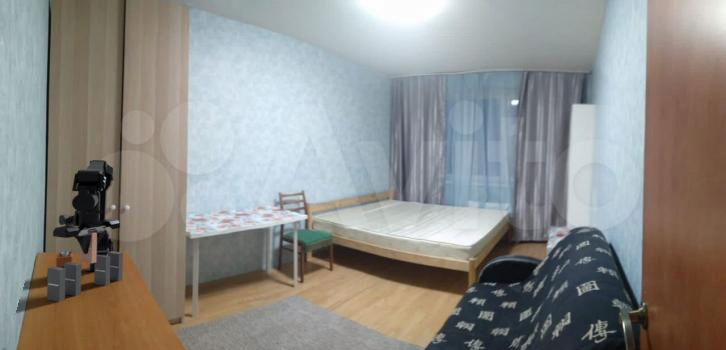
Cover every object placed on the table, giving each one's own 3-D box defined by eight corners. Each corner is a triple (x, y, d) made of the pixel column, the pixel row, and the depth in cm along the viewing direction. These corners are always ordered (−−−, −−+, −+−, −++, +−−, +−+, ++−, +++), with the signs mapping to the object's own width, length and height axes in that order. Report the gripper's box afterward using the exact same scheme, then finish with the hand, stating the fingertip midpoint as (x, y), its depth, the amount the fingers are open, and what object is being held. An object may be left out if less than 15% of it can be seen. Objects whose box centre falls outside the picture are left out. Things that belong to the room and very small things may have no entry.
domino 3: (84, 260, 121) (85, 231, 120) (96, 262, 120) (97, 232, 119) (80, 261, 119) (80, 232, 119) (91, 263, 118) (92, 233, 118)
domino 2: (69, 292, 116) (69, 262, 116) (80, 294, 115) (81, 263, 115) (63, 293, 115) (64, 263, 114) (75, 296, 113) (76, 265, 113)
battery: (55, 283, 123) (56, 255, 123) (57, 277, 128) (58, 250, 128) (72, 281, 126) (72, 253, 125) (73, 275, 131) (73, 249, 131)
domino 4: (98, 282, 126) (99, 254, 126) (109, 284, 125) (110, 256, 124) (94, 283, 124) (94, 255, 124) (105, 285, 123) (106, 257, 123)
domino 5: (111, 277, 131) (112, 251, 130) (122, 279, 130) (122, 252, 129) (107, 279, 129) (107, 252, 129) (118, 281, 128) (118, 253, 128)
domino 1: (52, 297, 111) (53, 266, 111) (64, 299, 110) (65, 268, 110) (46, 299, 110) (47, 267, 109) (59, 301, 109) (59, 269, 108)
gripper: (97, 202, 130) (96, 244, 130) (39, 208, 111) (39, 257, 112) (121, 204, 127) (120, 247, 128) (67, 211, 109) (66, 261, 109)
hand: (88, 253), depth 119 cm, fingers closed on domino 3, 2 cm apart
